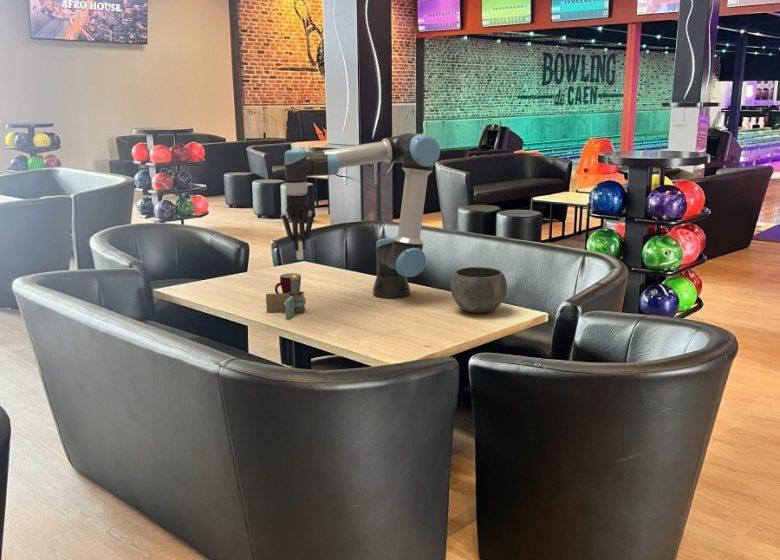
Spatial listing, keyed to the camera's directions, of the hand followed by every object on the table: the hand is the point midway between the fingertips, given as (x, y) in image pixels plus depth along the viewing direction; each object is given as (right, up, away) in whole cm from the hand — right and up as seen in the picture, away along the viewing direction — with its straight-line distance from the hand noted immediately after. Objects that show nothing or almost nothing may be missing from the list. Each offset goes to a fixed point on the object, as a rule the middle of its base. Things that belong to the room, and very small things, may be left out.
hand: (300, 258), depth 280 cm
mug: (-8, -16, +27) cm, 33 cm away
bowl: (+65, -19, +7) cm, 68 cm away
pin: (-3, -20, +11) cm, 22 cm away
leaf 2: (-3, -20, +7) cm, 22 cm away
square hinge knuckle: (-7, -20, +11) cm, 23 cm away
